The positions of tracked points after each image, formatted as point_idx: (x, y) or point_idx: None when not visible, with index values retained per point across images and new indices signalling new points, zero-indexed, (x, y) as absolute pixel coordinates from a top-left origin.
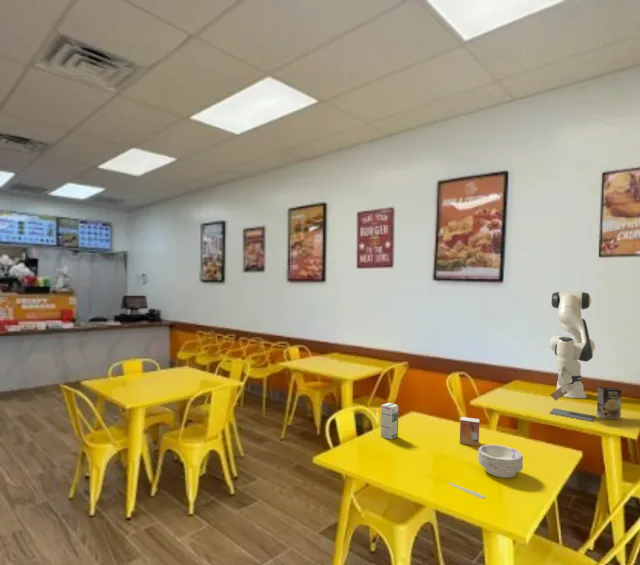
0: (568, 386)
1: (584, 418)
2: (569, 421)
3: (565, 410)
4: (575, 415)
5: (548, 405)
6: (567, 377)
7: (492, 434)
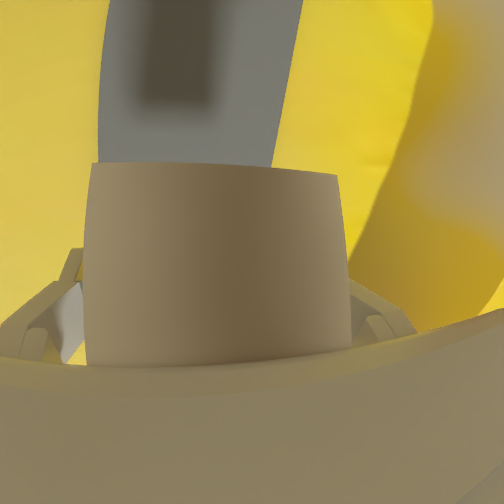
0: (338, 279)
1: (274, 12)
2: (374, 114)
3: (104, 152)
4: (220, 68)
5: (41, 265)
6: (474, 481)
7: (501, 293)
